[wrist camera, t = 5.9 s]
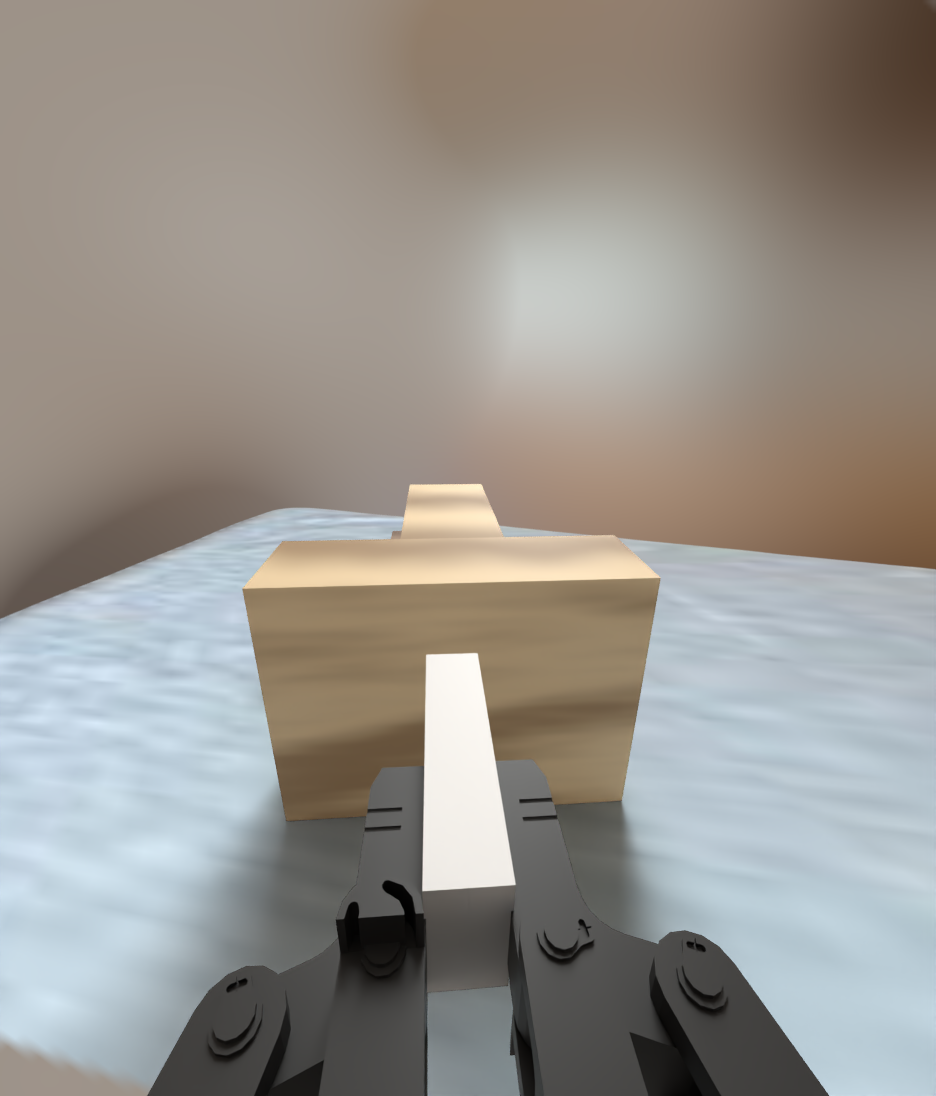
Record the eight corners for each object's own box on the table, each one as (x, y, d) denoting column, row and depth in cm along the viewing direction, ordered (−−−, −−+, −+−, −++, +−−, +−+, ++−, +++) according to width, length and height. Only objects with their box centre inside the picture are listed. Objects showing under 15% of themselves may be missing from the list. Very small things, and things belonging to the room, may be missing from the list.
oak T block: (621, 800, 23) (660, 577, 18) (286, 821, 22) (242, 588, 17) (546, 628, 38) (557, 483, 33) (345, 635, 36) (329, 485, 32)
